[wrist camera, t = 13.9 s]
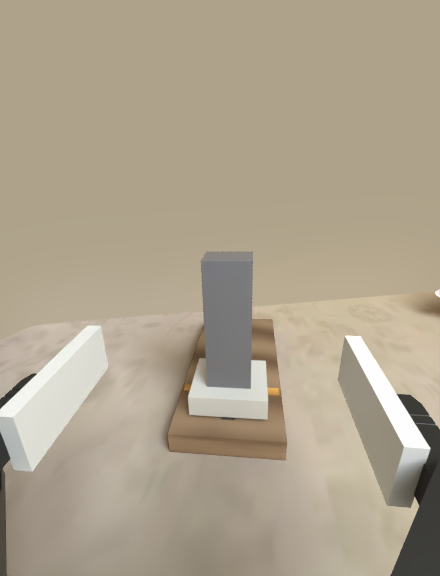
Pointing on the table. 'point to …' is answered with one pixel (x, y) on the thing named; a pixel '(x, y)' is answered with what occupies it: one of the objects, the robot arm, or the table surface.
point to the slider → (228, 343)
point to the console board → (234, 431)
